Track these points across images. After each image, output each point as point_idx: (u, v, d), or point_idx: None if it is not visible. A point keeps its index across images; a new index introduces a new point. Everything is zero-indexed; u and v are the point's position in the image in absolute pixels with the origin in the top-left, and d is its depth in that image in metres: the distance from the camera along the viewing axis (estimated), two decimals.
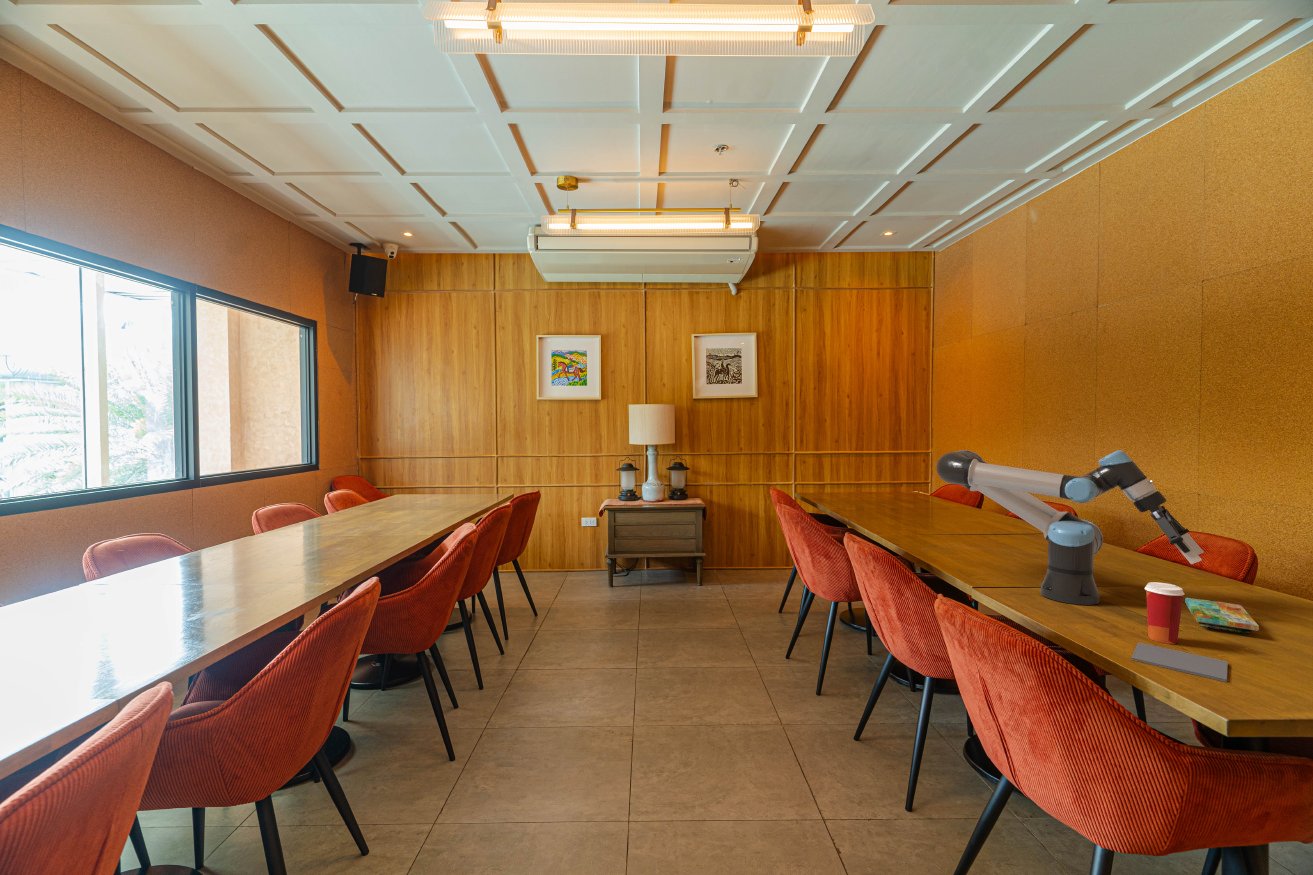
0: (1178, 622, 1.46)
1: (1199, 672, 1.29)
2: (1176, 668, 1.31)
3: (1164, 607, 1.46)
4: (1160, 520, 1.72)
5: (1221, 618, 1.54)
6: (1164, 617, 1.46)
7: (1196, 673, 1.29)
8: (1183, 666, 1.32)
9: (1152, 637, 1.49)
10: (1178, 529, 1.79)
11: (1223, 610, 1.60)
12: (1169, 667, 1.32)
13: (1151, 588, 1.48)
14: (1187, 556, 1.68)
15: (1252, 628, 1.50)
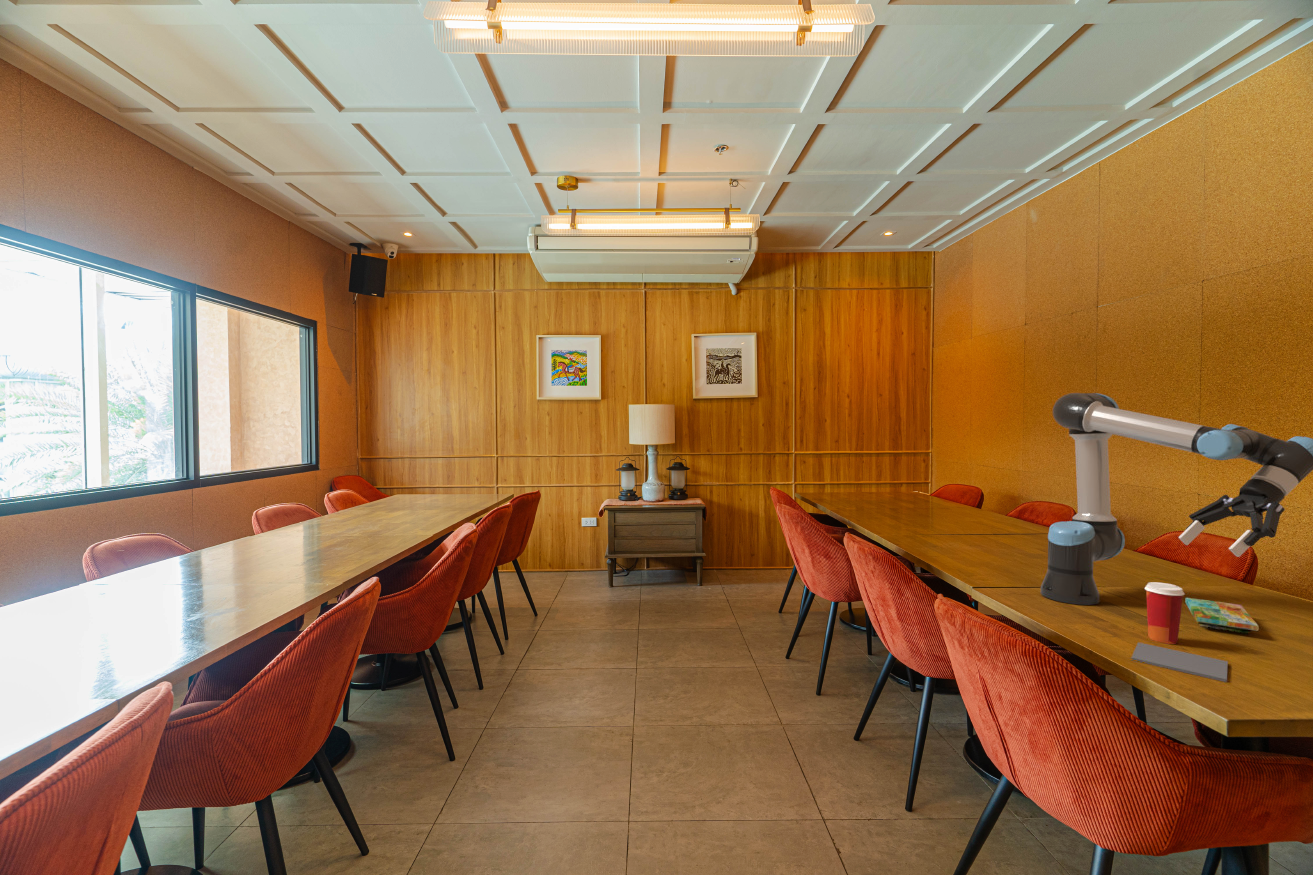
0: (1178, 622, 1.46)
1: (1199, 672, 1.29)
2: (1176, 668, 1.31)
3: (1164, 607, 1.46)
4: (1276, 512, 1.41)
5: (1221, 618, 1.54)
6: (1164, 617, 1.46)
7: (1196, 673, 1.29)
8: (1183, 666, 1.32)
9: (1152, 637, 1.49)
10: (1210, 520, 1.54)
11: (1223, 610, 1.60)
12: (1169, 667, 1.32)
13: (1151, 588, 1.48)
14: (1240, 544, 1.41)
15: (1252, 628, 1.50)
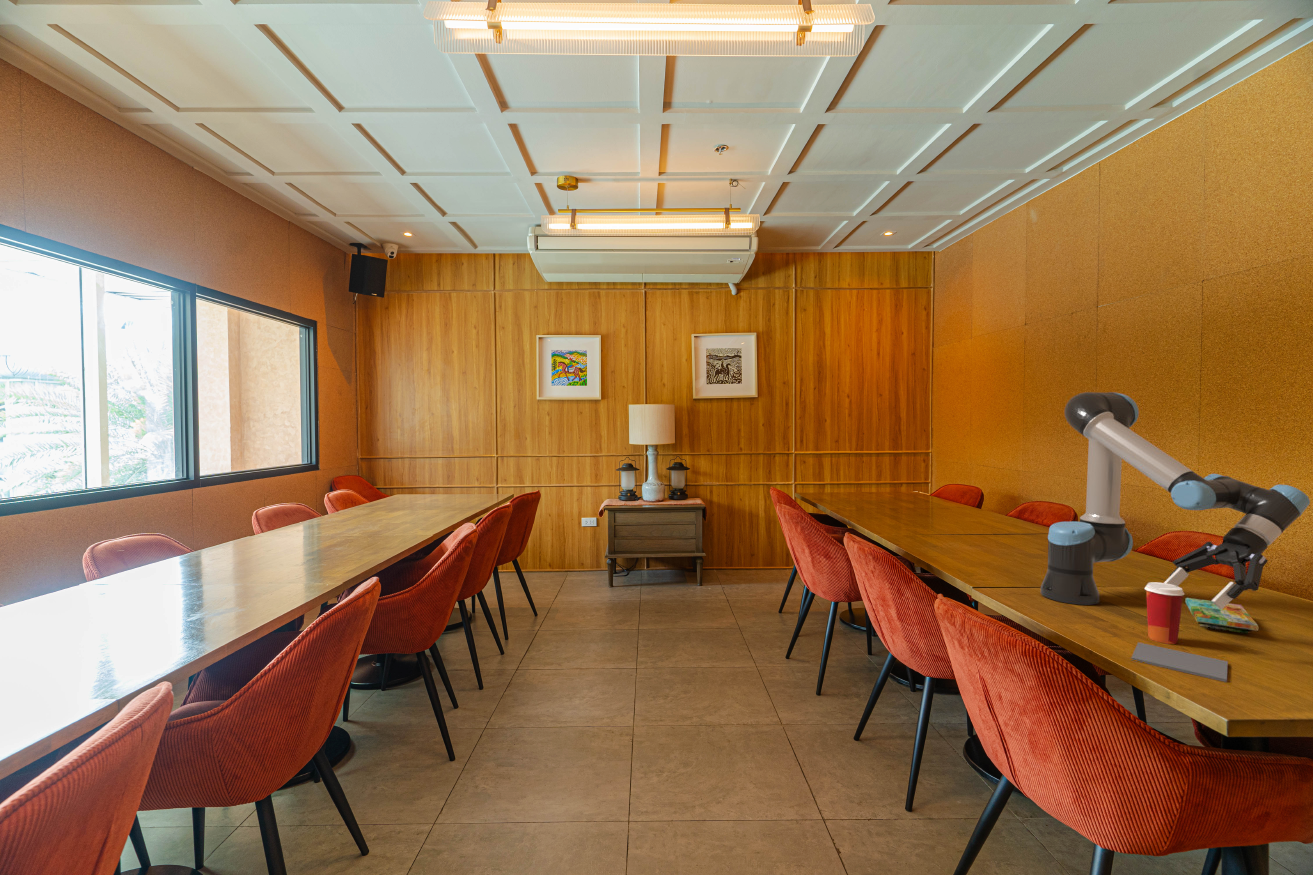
0: (1178, 622, 1.46)
1: (1199, 672, 1.29)
2: (1176, 668, 1.31)
3: (1164, 607, 1.46)
4: (1259, 564, 1.39)
5: (1221, 618, 1.54)
6: (1164, 617, 1.46)
7: (1196, 673, 1.29)
8: (1183, 666, 1.32)
9: (1152, 637, 1.49)
10: (1193, 567, 1.53)
11: (1223, 610, 1.60)
12: (1169, 667, 1.32)
13: (1151, 588, 1.48)
14: (1223, 596, 1.40)
15: (1252, 628, 1.50)
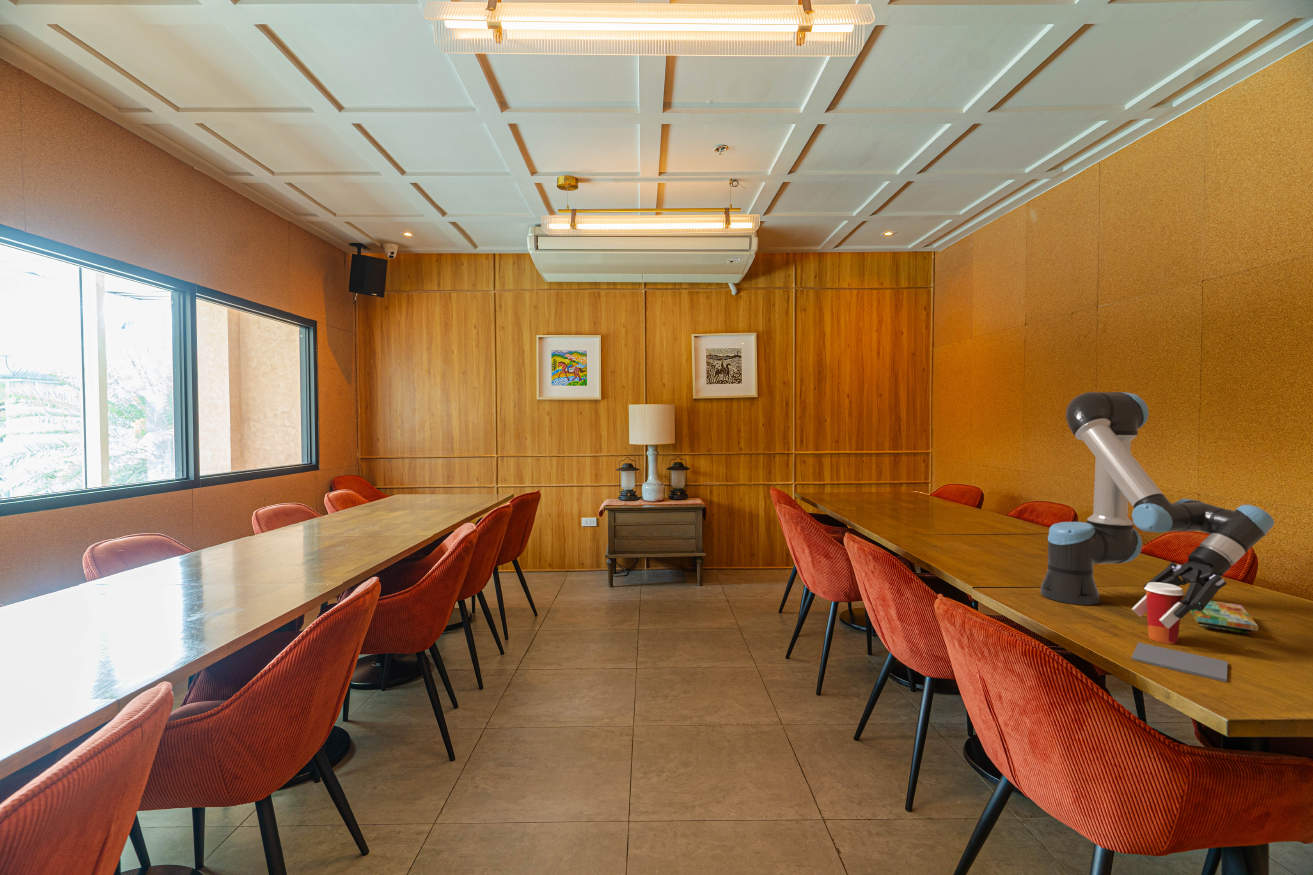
0: (1178, 622, 1.46)
1: (1199, 672, 1.29)
2: (1176, 668, 1.31)
3: (1164, 607, 1.46)
4: (1214, 586, 1.42)
5: (1220, 618, 1.54)
6: None
7: (1196, 673, 1.29)
8: (1183, 666, 1.32)
9: (1152, 637, 1.49)
10: None
11: (1223, 610, 1.60)
12: (1169, 667, 1.32)
13: (1151, 588, 1.48)
14: (1170, 616, 1.44)
15: (1251, 628, 1.50)
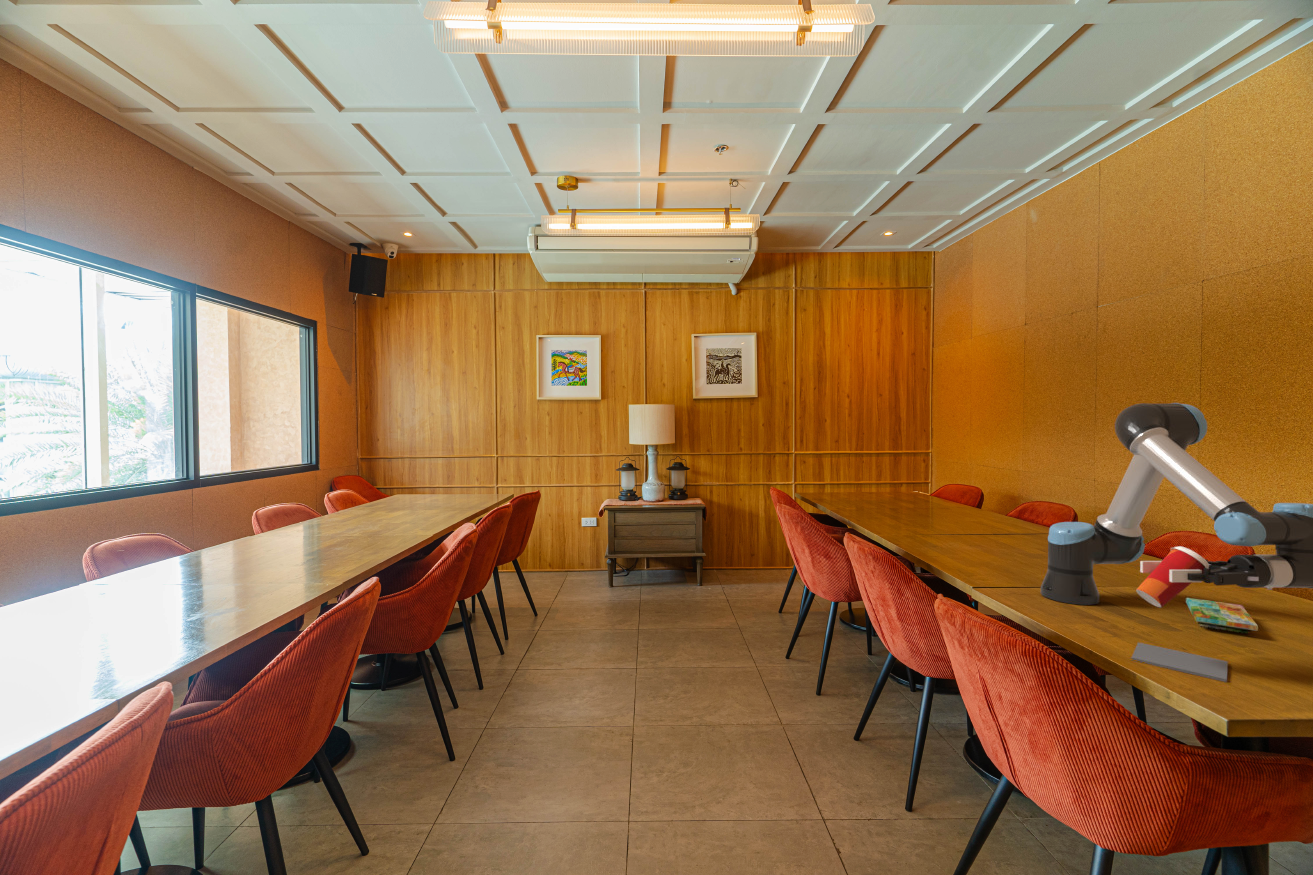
0: (1180, 589, 1.33)
1: (1199, 672, 1.29)
2: (1176, 668, 1.31)
3: (1180, 567, 1.34)
4: (1245, 578, 1.29)
5: (1220, 618, 1.54)
6: None
7: (1196, 673, 1.29)
8: (1183, 666, 1.32)
9: (1142, 588, 1.36)
10: None
11: (1223, 610, 1.60)
12: (1169, 667, 1.32)
13: (1179, 548, 1.36)
14: (1182, 573, 1.32)
15: (1251, 628, 1.50)
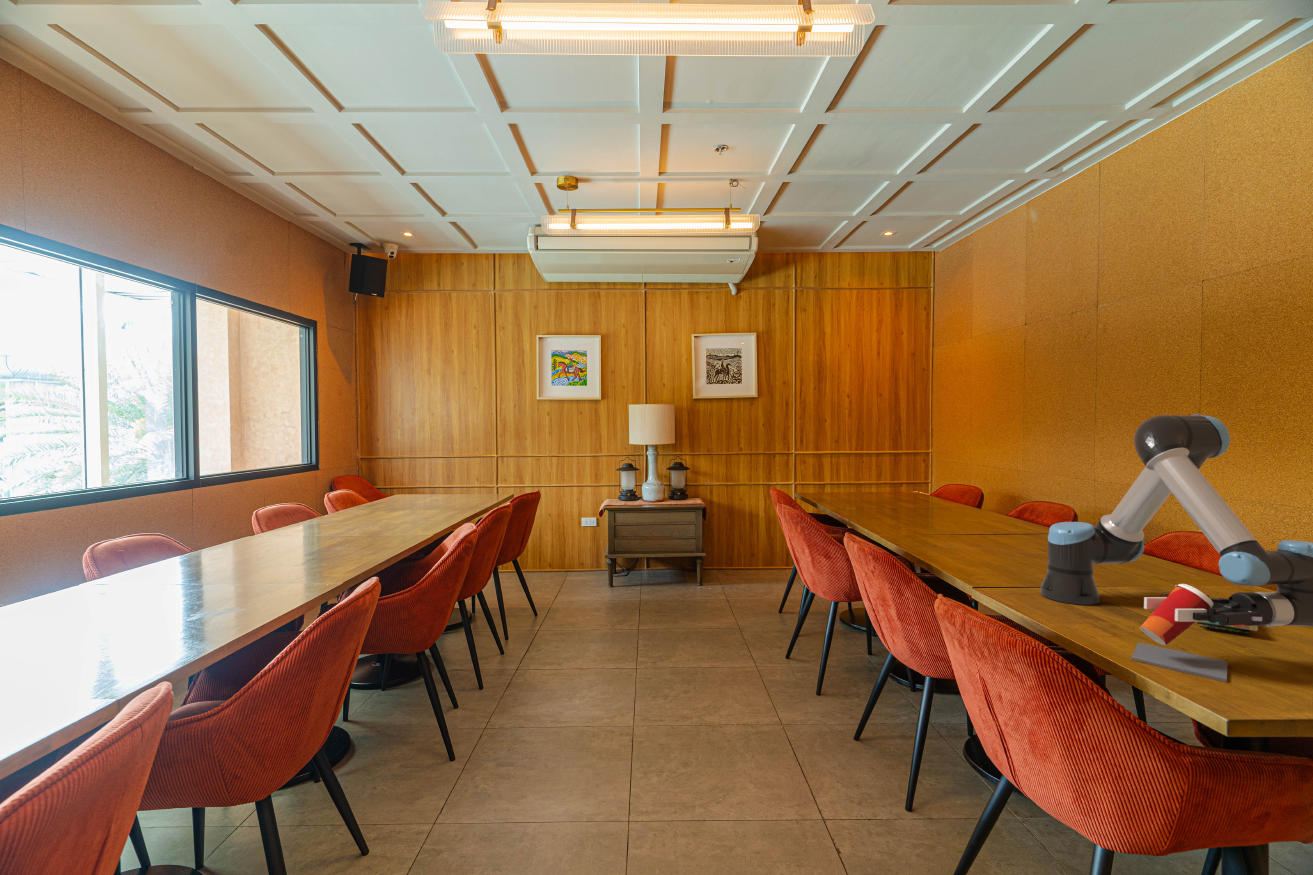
0: (1184, 627, 1.33)
1: (1199, 672, 1.29)
2: (1176, 668, 1.31)
3: (1185, 605, 1.33)
4: (1249, 618, 1.29)
5: None
6: None
7: (1196, 673, 1.29)
8: (1183, 666, 1.32)
9: (1147, 625, 1.36)
10: None
11: None
12: (1169, 667, 1.32)
13: (1184, 586, 1.35)
14: (1188, 612, 1.31)
15: (1251, 628, 1.50)
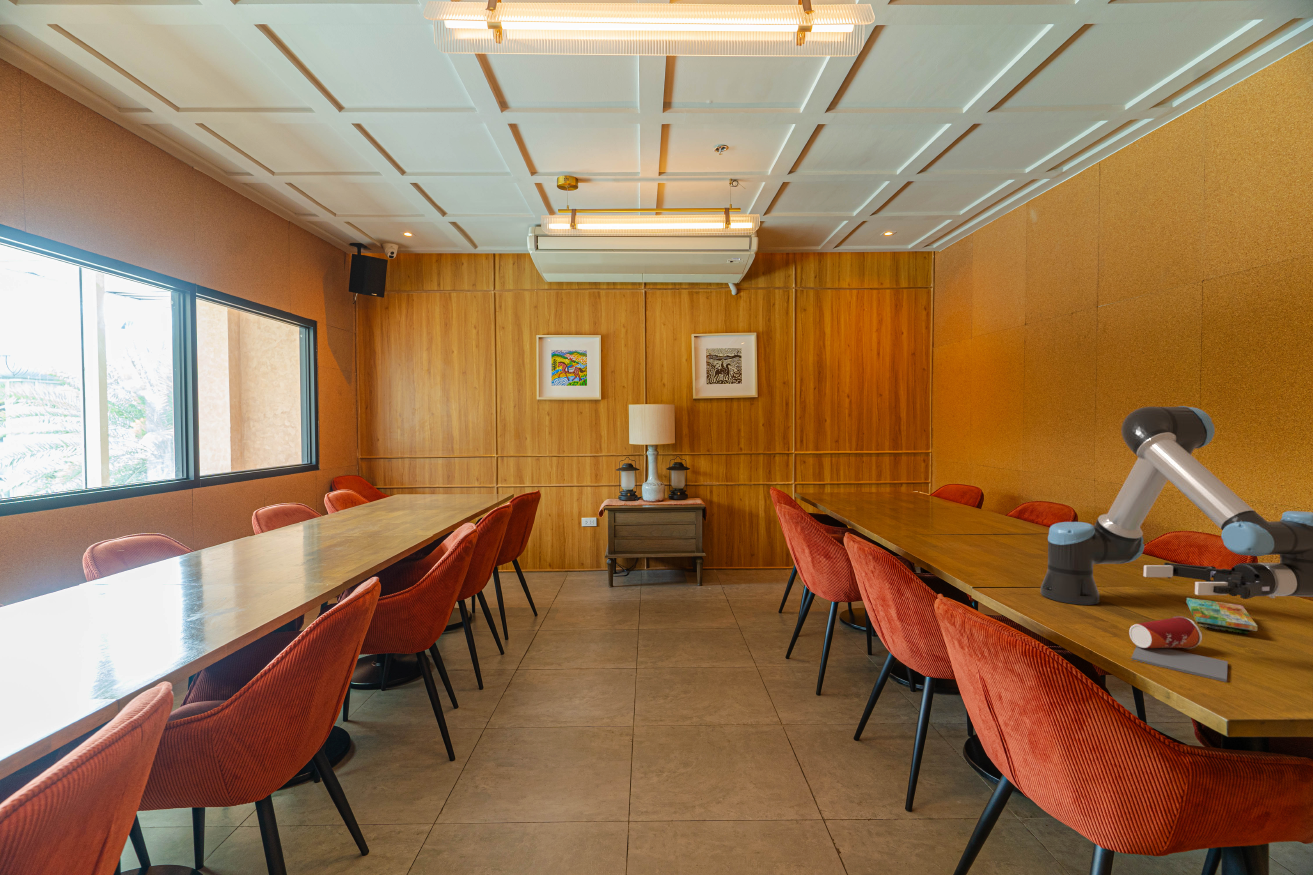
0: (1160, 622, 1.42)
1: (1199, 672, 1.29)
2: (1176, 668, 1.31)
3: None
4: (1260, 588, 1.28)
5: (1220, 618, 1.54)
6: None
7: (1196, 673, 1.29)
8: (1183, 666, 1.32)
9: None
10: (1183, 573, 1.41)
11: (1223, 610, 1.60)
12: (1169, 667, 1.32)
13: None
14: (1208, 586, 1.28)
15: (1251, 628, 1.50)
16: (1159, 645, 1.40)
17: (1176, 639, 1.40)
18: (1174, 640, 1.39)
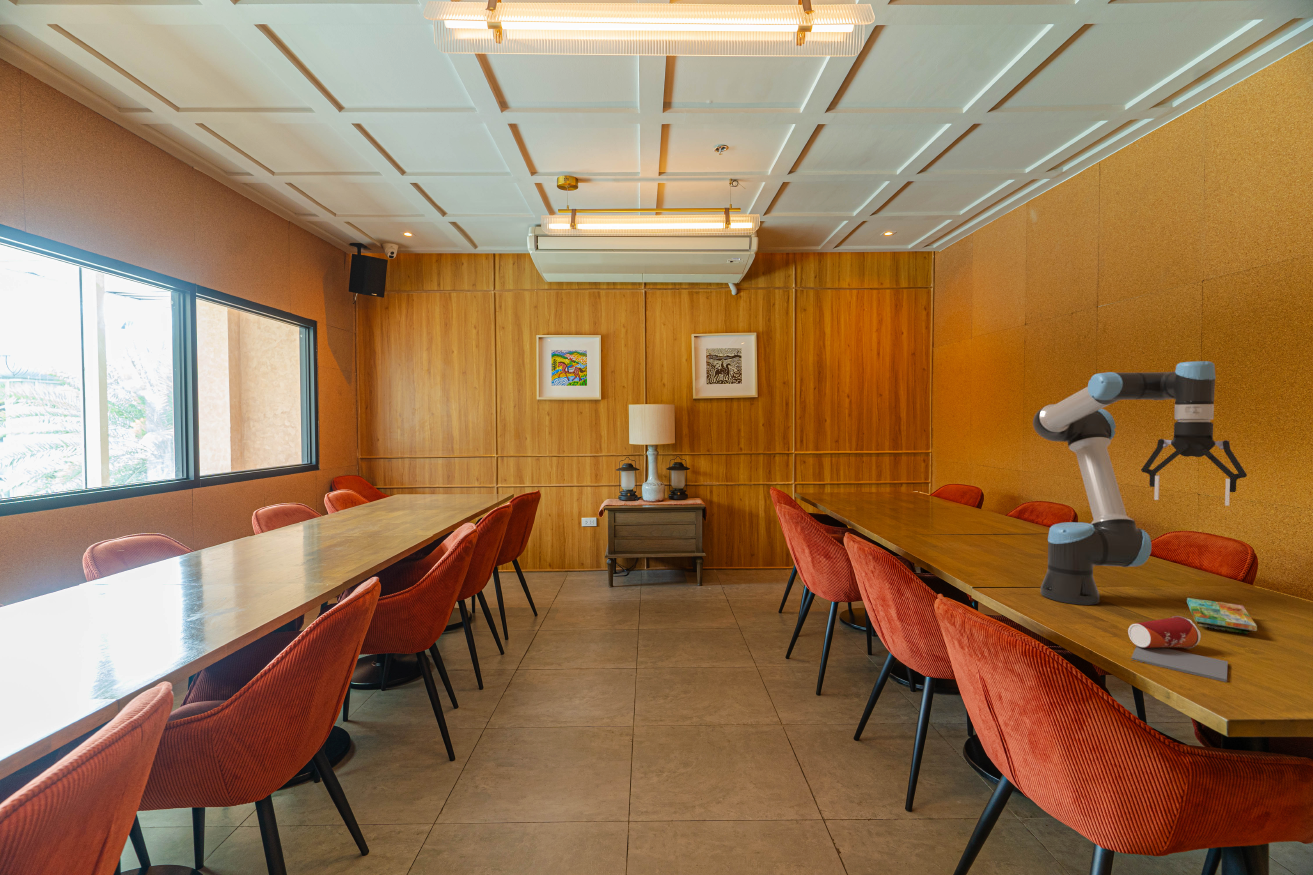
0: (1158, 621, 1.43)
1: (1199, 672, 1.29)
2: (1176, 668, 1.31)
3: None
4: (1156, 448, 1.57)
5: (1219, 618, 1.54)
6: None
7: (1196, 673, 1.29)
8: (1183, 666, 1.32)
9: None
10: None
11: (1223, 610, 1.60)
12: (1169, 667, 1.32)
13: None
14: None
15: (1250, 628, 1.50)
16: (1159, 644, 1.40)
17: (1175, 638, 1.40)
18: (1173, 639, 1.40)
